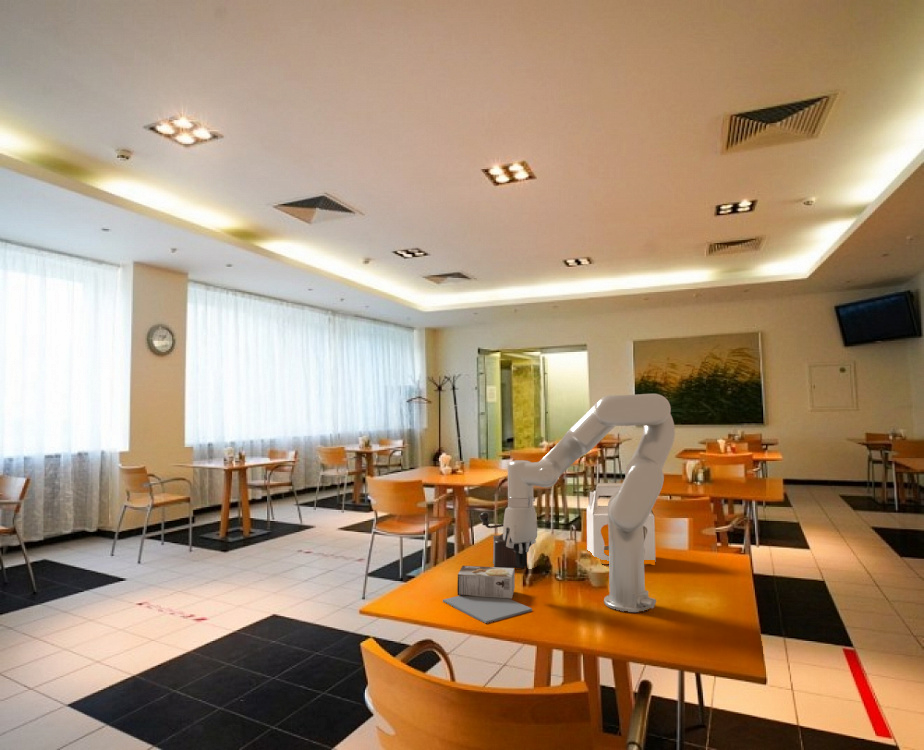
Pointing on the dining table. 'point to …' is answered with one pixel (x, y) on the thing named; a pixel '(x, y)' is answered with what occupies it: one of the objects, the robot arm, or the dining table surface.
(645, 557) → the gable box
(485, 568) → the coffee box
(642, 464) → the robot arm
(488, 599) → the mat
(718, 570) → the dining table surface
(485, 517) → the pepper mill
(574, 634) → the dining table surface
